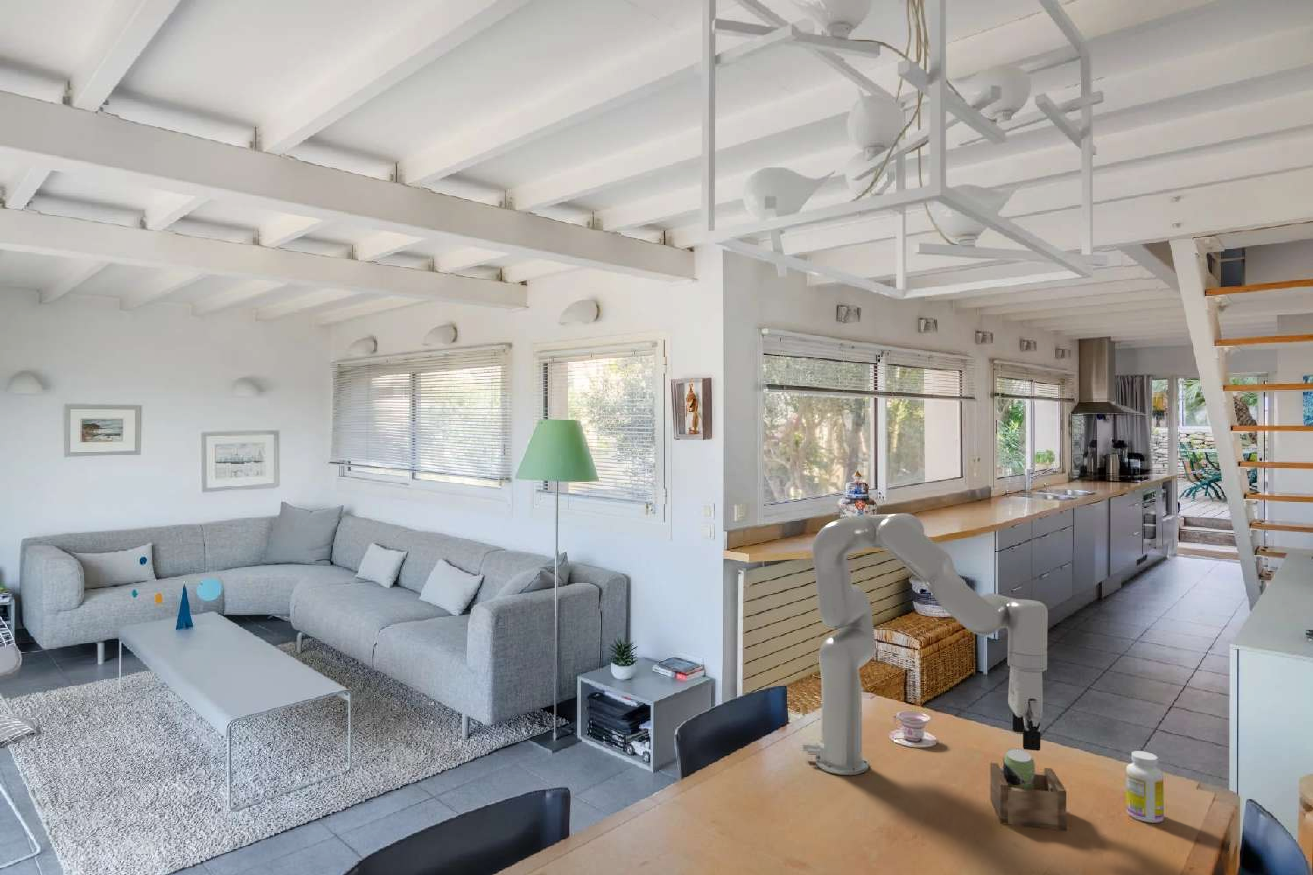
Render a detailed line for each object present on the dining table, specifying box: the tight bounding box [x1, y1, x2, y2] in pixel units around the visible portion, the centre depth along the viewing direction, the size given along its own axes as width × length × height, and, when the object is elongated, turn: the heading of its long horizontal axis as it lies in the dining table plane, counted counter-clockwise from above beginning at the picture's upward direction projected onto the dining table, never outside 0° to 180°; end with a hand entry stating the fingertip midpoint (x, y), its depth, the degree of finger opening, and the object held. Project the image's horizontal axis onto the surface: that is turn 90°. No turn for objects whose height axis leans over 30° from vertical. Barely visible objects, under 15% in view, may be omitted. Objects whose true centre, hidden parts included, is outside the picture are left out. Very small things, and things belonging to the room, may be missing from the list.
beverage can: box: [1002, 748, 1036, 790], centre depth 164 cm, size 6×7×12 cm
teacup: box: [888, 710, 938, 749], centre depth 204 cm, size 12×12×6 cm
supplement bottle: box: [1125, 750, 1165, 824], centre depth 163 cm, size 7×7×13 cm
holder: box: [989, 762, 1067, 832], centre depth 163 cm, size 12×11×8 cm
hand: (1025, 740), depth 163 cm, fingers open, 9 cm apart
